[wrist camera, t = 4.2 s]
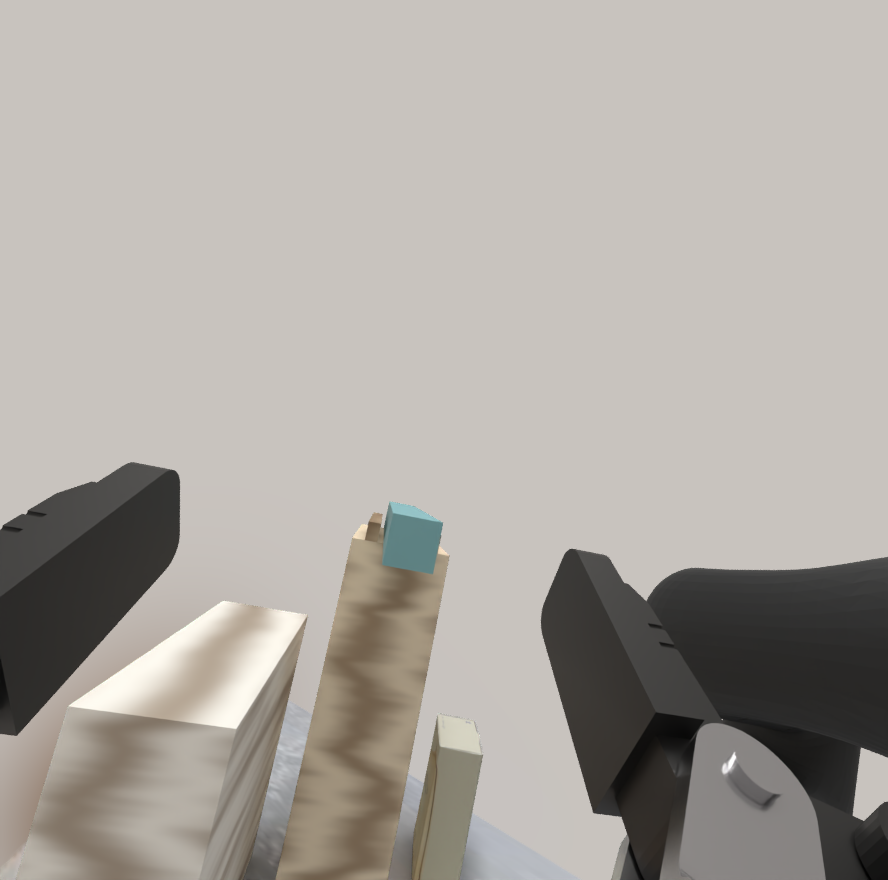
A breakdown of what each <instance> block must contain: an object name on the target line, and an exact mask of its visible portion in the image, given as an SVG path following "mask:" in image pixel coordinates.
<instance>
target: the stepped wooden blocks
mask: <svg viewBox="0 0 888 880" xmlns="http://www.w3.org/2000/svg"><path fill="white" fill-rule="evenodd" d="M381 521H382V514H379V513H373V515H372V517H371V519H370V521H369V523H368V525H364V524H362V525H361V526H360V528H359V529H358V531H357V532H356V533H355V535H354V536H353V538H352V542H351V546H350V551H349V555H348V560H347V564H346V569H345V573H344V577H343V582H342V586H341V591H340V595H339V600H338V604H337V608H336V613H335V617H334V622H333V626H332V631H331V635H330V639H329V644H328V649H327V653H326V657H325V662H324V666H323V671H322V675H321V680H320V684H319V689H318V693H317V697H316V702H315V706H314V711H313V715H312V720H311V724H310V728H309V733H308V737H307V742H306V746H305V751H304V755H303V760H302V764H301V769H300V773H299V777H298V782H297V786H296V791H295V795H294V800H293V804H292V809H291V813H290V817H289V822H288V826H287V831H286V835H285V840H284V844H283V849H282V853H281V858H280V862H279V866H278V871H277V875H276V880H388V875H389V869H390V864H391V859H392V854H393V849H394V843H395V838H396V833H397V828H398V822H399V817H400V812H401V807H402V801H403V796H404V791H405V786H406V781H407V775H408V770H409V764H410V760H411V754H412V749H413V743H414V739H415V734H416V728H417V723H418V718H419V713H420V707H421V702H422V697H423V692H424V687H425V681H426V676H427V671H428V666H429V660H430V655H431V650H432V644H433V639H434V634H435V629H436V624H437V619H438V613H439V607H440V603H441V598H442V592H443V587H444V582H445V577H446V572H447V566H448V561H449V555H448V554H447V553H446V552H445V551H444V550H443V549H442V548H441V547H440V546H438V551H437V557H436V562H435V567H434V572H433V574H428V573H423V572H417V571H412V570H406V569H401V568H395V567H390V566H384V565H382V557H383V539H384V528H380V527H381ZM440 539H441V536H440ZM439 544H440V541H439ZM307 617H308V615H306V614H299V613H294V612H288V611H282V610H275V609H269V608H263V607H258V606H251V605H246V604H239V603H233V602H227V601H222V602H221V603H219V604H218V605H216V606H215V607H213V608H212V609H210V610H209V611H207V612H206V613H205V614H203V615H202V616H200V617H199V618H197V619H196V620H194V621H193V622H191V623H190V624H188V625H187V626H185V627H184V628H183V629H181V630H179V631H178V632H177V633H175V634H174V635H172V636H171V637H169V638H168V639H166V640H165V641H163V642H162V643H160V644H159V645H157V646H156V647H155V648H153V649H152V650H150V651H149V652H147V653H146V654H144V655H143V656H141V657H140V658H138V659H137V660H135V661H134V662H132V663H131V664H129V665H128V666H127V667H125V668H124V669H122V670H121V671H119V672H118V673H116V674H115V675H113V676H112V677H110V678H109V679H107V680H106V681H104V682H103V683H101V684H100V685H98V686H97V687H96V688H94V689H93V690H91V691H90V692H88V693H87V694H85V695H84V696H83V697H81V698H79V699H78V700H76V701H75V702H73V703H72V704H71V705H69V706H68V708H67V711H66V714H65V718H64V721H63V724H62V728H61V731H60V734H59V738H58V741H57V744H56V747H55V751H54V754H53V757H52V761H51V764H50V768H49V771H48V774H47V777H46V781H45V784H44V787H43V790H42V794H41V797H40V801H39V804H38V807H37V811H36V814H35V817H34V820H33V824H32V827H31V830H30V833H29V837H28V840H27V843H26V847H25V850H24V853H23V857H22V860H21V863H20V867H19V870H18V873H17V876H16V880H243V878H244V875H245V872H246V870H247V867H248V864H249V861H250V859H251V856H252V852H253V848H254V844H255V839H256V835H257V831H258V827H259V822H260V818H261V814H262V809H263V805H264V801H265V797H266V792H267V788H268V784H269V779H270V775H271V771H272V767H273V762H274V758H275V754H276V750H277V745H278V741H279V737H280V732H281V728H282V724H283V720H284V715H285V711H286V707H287V702H288V698H289V694H290V690H291V685H292V681H293V677H294V672H295V668H296V663H297V660H298V655H299V651H300V646H301V642H302V638H303V634H304V629H305V625H306V621H307Z"/></svg>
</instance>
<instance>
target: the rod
mask: <svg viewBox="0 0 888 880" xmlns="http://www.w3.org/2000/svg"><path fill="white" fill-rule="evenodd" d="M442 526H443V523H442V522H441V521H439V520H437V519H436V518H434V517H432V516H430V515H429V514H427V513H425V512H423V511H422V510H420V509H418V508H416V507H414V506H410V505H405V504H400V503H394V502H389V506H388V511H387V516H386V521H385V525H384V539H383V557H382V565H384V566H390V567H395V568H401V569H406V570H412V571H417V572H423V573H428V574H433V572H434V567H435V562H436V557H437V551H438V546H439V541H440V536H441V531H442Z"/></svg>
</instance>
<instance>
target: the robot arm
mask: <svg viewBox="0 0 888 880" xmlns="http://www.w3.org/2000/svg"><path fill="white" fill-rule="evenodd" d="M179 535H180V479H179V475H178V474H177V472H176V471H174V470H170V469H165V468H160V467H155V466H149V465H144V464H139V463H134V462H133V463H132V462H131V463H128V464H126V465H124V466H122V467H121V468H119V469H118V470H116V471H114V472H113V473H111V474H110V475H108V476H107V477H105V478H103V479H102V480H100V481H99V482H97V483H96V482H90V483H87V484H84V485H81V486H77V487H74V488H71V489H69V490H65V491H63V492H59V493H57V494H55V495H53V496H52V497H50V498H48V499H46V500H45V501H43V502H41V503H40V504H38V505H36V506H35V507H33V508H31V509H30V510H28V512H27V514H26V515H25V514H21V515H19V516H18V517H16V518H14V519H13V520H11V521H10V522H8V523H6V524H4V525H3V527H2V529H1V530H0V734H7V735H14V736H17V735H18V734H19V733H20V732H21V731H22V729H23V728H24V727H25V726H26V725H27V724H28V723H29V722H30V720H31V719H32V718H33V717H34V716H35V715H36V714H37V713H38V712H39V710H40V709H41V708H42V707H43V706H44V705H45V704H46V703H47V701H48V700H49V699H50V698H51V697H52V696H53V695H54V694H55V693H56V692H57V690H58V689H59V688H60V687H61V686H62V685H63V684H64V683H65V681H66V680H67V679H68V678H69V677H70V676H71V675H72V674H73V673H74V671H75V670H76V669H77V668H78V667H79V666H80V664H82V662H83V661H84V660H85V659H86V658H87V657H88V656H89V655H90V653H91V652H92V651H93V650H94V649H95V648H96V647H97V645H99V644H100V642H101V641H102V640H103V639H104V638H105V637H106V635H108V633H109V632H110V631H111V630H112V629H113V628H114V627H115V626H116V625H117V623H118V622H119V621H120V620H121V619H122V618H123V617H124V616H125V615H126V613H127V612H128V611H129V610H130V609H131V608H132V607H133V605H134V604H135V603H136V602H137V601H138V600H139V599H140V598H141V597H142V595H143V594H144V593H145V592H146V591H147V590H148V589H149V588H150V587H151V585H152V584H153V583H154V582H155V581H156V580H157V579H158V578H159V577H160V575H161V574H162V573H163V572H164V571H165V569H166V568H167V567H168V566H169V564H170V563H171V561H172V559H173V557H174V555H175V553H176V550H177V547H178V543H179ZM541 629H542V635H543V638H544V642H545V645H546V649H547V653H548V656H549V660H550V662H551V667H552V670H553V673H554V677H555V681H556V684H557V688H558V691H559V695H560V698H561V702H562V705H563V709H564V712H565V715H566V719H567V722H568V726H569V729H570V733H571V736H572V740H573V743H574V747H575V750H576V754H577V757H578V761H579V764H580V768H581V771H582V774H583V778H584V782H585V785H586V789H587V792H588V796H589V799H590V803H591V806H592V810H593V813H596V814H604V815H612V816H620V817H622V820H623V823H624V825H625V829H626V831H627V835H626V837H625V838H624V840H623V841H622V843H621V846H620V848H619V852H618V856H617V859H616V863H615V867H614V871H613V875H612V879H611V880H888V802H884V803H883V804H881V805H880V806H879V807H878V808H877V809H876V810H875V811H874V812H873V813H872V814H871V815H870V816H869V817H868V818H867V819H866V820H865V821H863V820H860V819H858V818H856V817H854V816H852V815H853V806H854V797H855V789H856V781H857V773H858V764H859V757H860V749H861V748H864V749H867V750H870V751H872V752H875V753H878V754H880V755H883V756H885V757H888V557H885V558H879V559H872V560H866V561H860V562H854V563H848V564H842V565H835V566H827V567H821V568H812V569H800V570H722V569H704V568H690V569H684V570H681V571H678V572H676V573H674V574H672V575H670V576H668V577H667V578H665V579H664V580H663V581H661V582H660V583H659V584H658V585H657V586H656V587H655V589H654V590H653V592H652V593H651V594H650V596H649V597H648V599H647V601H645V600H644V599H643V598H642V597H641V596H640V595H639V594H638V593H637V592H636V591H635V590H634V589H633V588H632V587H631V586H630V585H629V584H626V583H624V582H623V581H622V579H621V577H620V576H619V574H618V572H617V570H616V569H615V567H614V566H613V564H612V562H611V560H610V559H609V558H608V557H607V556H605V555H602V554H596V553H591V552H586V551H581V550H576V549H569V550H568V551H567V552H566V553H565V555H564V557H563V559H562V561H561V564H560V566H559V569H558V571H557V573H556V576H555V578H554V581H553V583H552V585H551V588H550V590H549V593H548V595H547V597H546V600H545V602H544V605H543V609H542V616H541ZM721 719H723V720H721Z"/></svg>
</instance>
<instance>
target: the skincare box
mask: <svg viewBox="0 0 888 880" xmlns="http://www.w3.org/2000/svg"><path fill="white" fill-rule="evenodd" d="M482 757H483V751H482V746H481V741H480V736H479V733H478V729H477V725H476V721H475V720H470V719H465V718H460V717H455V716H451V715H445V714H441V713H438V715H437V721H436V727H435V731H434V736H433V742H432V747H431V752H430V757H429V762H428V767H427V771H426V776H425V781H424V786H423V791H422V796H421V800H420V805H419V810H418V815H417V820H416V824H415V830H414V839H413V857H412V880H459V879H460V874H461V868H462V863H463V858H464V852H465V847H466V842H467V837H468V831H469V826H470V821H471V816H472V810H473V805H474V800H475V794H476V789H477V784H478V779H479V773H480V767H481V763H482Z"/></svg>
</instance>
